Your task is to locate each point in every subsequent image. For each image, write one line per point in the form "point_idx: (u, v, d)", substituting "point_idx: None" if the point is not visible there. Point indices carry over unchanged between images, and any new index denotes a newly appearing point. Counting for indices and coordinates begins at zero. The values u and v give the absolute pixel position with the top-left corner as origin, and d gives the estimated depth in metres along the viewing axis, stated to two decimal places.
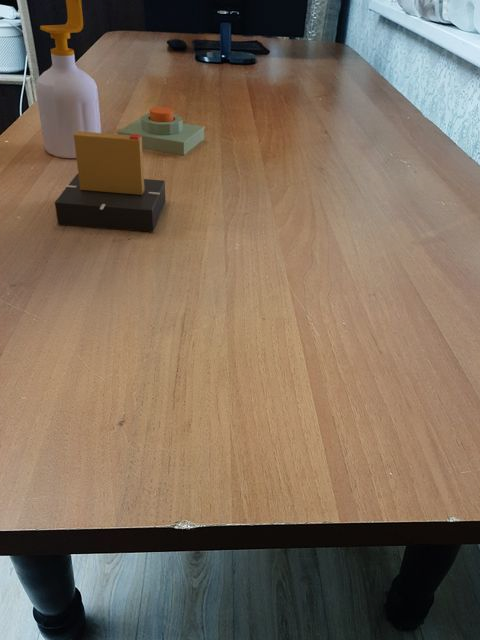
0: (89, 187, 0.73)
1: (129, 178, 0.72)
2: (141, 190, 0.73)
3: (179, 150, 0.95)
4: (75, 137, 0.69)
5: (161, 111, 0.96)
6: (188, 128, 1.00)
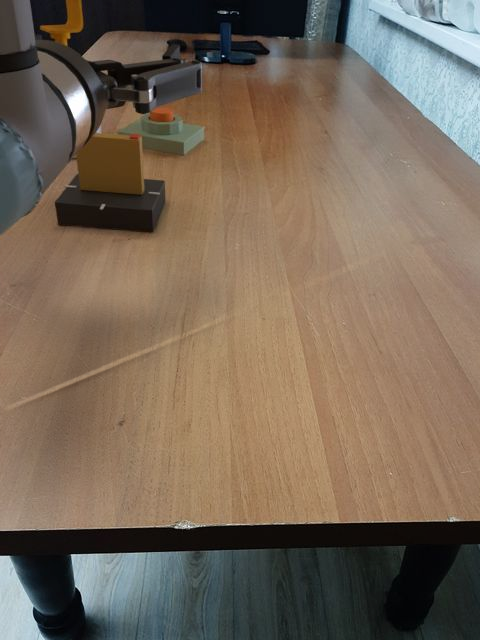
0: (89, 187, 0.73)
1: (129, 178, 0.72)
2: (141, 190, 0.73)
3: (179, 150, 0.95)
4: None
5: (161, 111, 0.96)
6: (188, 128, 1.00)
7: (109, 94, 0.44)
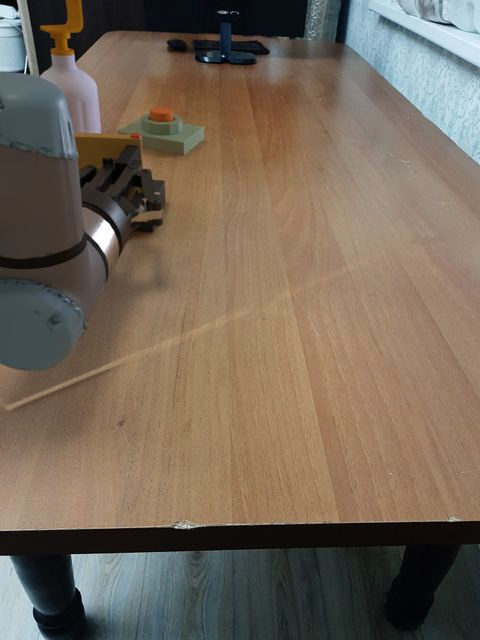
0: None
1: None
2: None
3: (179, 150, 0.95)
4: (75, 138, 0.69)
5: (161, 111, 0.96)
6: (188, 128, 1.00)
7: (132, 221, 0.56)
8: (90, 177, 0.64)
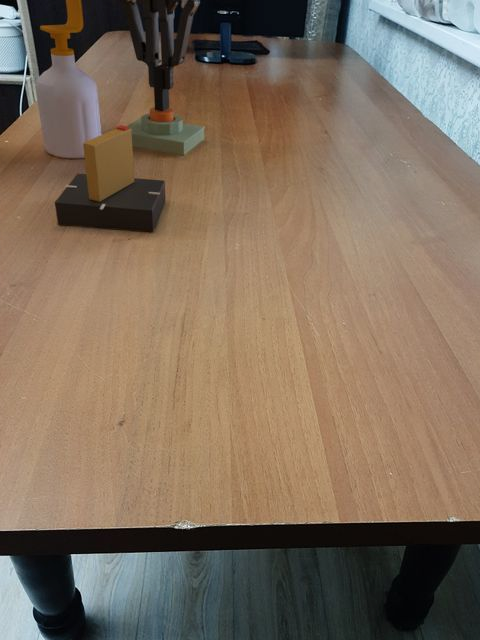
0: (105, 194, 0.71)
1: (127, 169, 0.74)
2: (133, 177, 0.76)
3: (179, 150, 0.95)
4: (95, 147, 0.67)
5: (161, 111, 0.96)
6: (188, 128, 1.00)
7: None
8: None
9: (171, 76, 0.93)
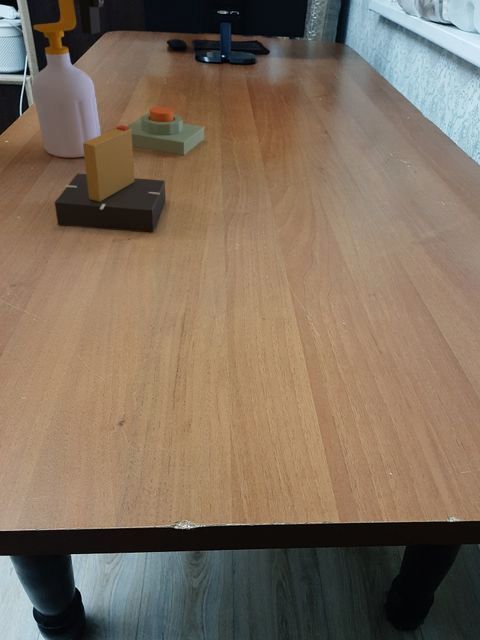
0: (105, 194, 0.71)
1: (127, 169, 0.74)
2: (133, 177, 0.76)
3: (179, 150, 0.95)
4: (95, 147, 0.67)
5: (161, 111, 0.96)
6: (188, 128, 1.00)
7: None
8: None
9: None
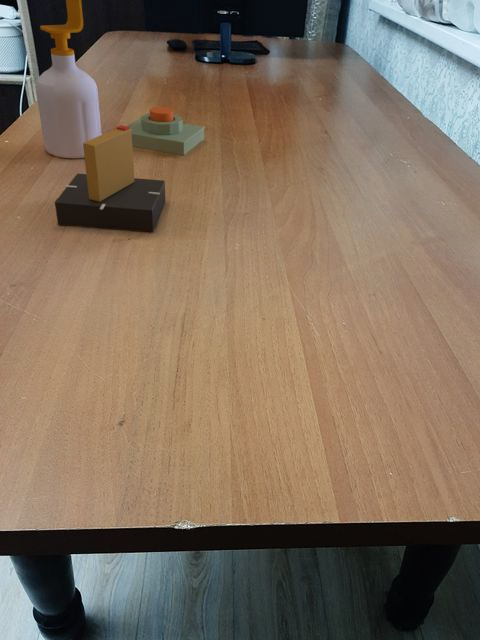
0: (105, 194, 0.71)
1: (127, 169, 0.74)
2: (133, 177, 0.76)
3: (179, 150, 0.95)
4: (95, 147, 0.67)
5: (161, 111, 0.96)
6: (188, 128, 1.00)
7: None
8: None
9: None
